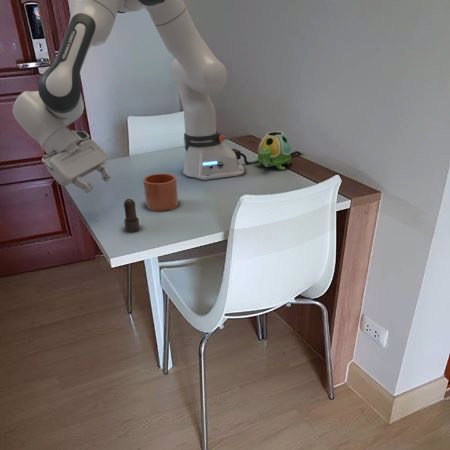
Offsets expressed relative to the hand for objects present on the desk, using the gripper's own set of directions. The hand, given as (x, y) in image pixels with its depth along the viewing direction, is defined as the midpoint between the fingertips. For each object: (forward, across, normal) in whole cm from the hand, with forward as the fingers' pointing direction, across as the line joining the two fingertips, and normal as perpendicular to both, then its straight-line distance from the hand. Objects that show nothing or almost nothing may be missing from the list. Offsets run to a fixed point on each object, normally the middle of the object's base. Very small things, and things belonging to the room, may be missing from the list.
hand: (99, 185), depth 135 cm
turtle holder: (+31, +67, -14) cm, 75 cm away
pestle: (+15, 0, +2) cm, 15 cm away
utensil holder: (+15, +19, +2) cm, 24 cm away
